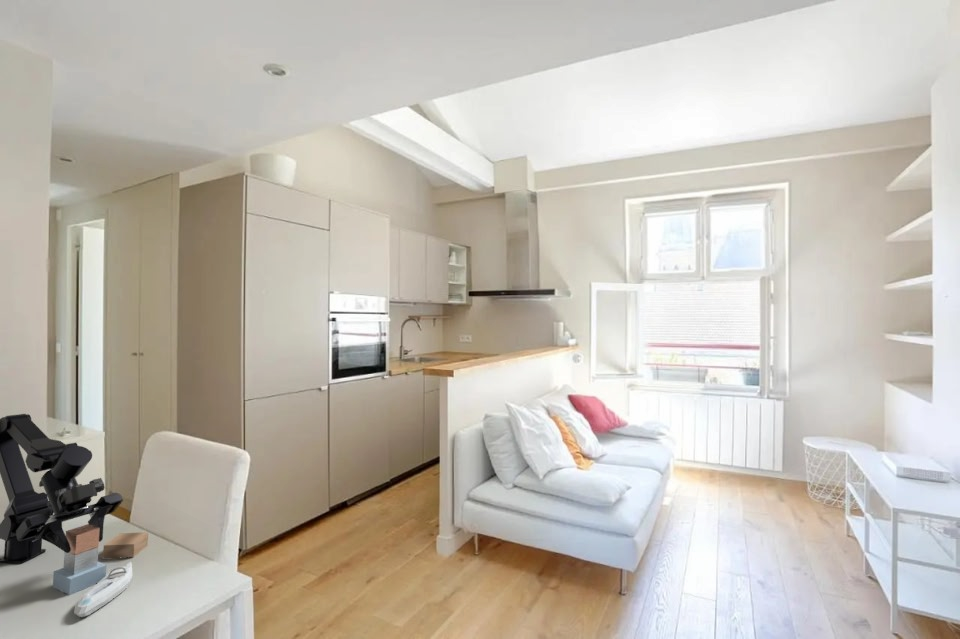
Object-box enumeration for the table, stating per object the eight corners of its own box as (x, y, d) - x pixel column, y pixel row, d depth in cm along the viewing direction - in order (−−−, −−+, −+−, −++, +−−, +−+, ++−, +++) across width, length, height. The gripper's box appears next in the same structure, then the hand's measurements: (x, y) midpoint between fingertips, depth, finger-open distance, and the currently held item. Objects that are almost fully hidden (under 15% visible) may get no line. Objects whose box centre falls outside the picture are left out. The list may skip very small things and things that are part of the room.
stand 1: (52, 586, 104) (53, 571, 104) (88, 572, 110) (89, 557, 110) (69, 595, 101) (70, 579, 101) (105, 579, 108) (106, 564, 108)
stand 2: (102, 559, 117) (103, 545, 117) (118, 546, 123) (119, 533, 124) (133, 557, 118) (134, 544, 118) (147, 544, 125) (148, 532, 125)
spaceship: (102, 620, 94) (102, 599, 94) (63, 625, 92) (64, 603, 92) (149, 563, 116) (150, 546, 116) (119, 566, 114) (119, 549, 114)
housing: (63, 570, 105) (65, 531, 105) (86, 561, 109) (88, 523, 109) (73, 575, 103) (76, 535, 103) (97, 566, 107) (99, 527, 107)
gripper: (26, 481, 99) (49, 543, 95) (121, 460, 117) (145, 512, 112) (5, 510, 102) (27, 571, 98) (101, 486, 119) (123, 537, 115)
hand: (85, 546), depth 105 cm, fingers open, 6 cm apart
